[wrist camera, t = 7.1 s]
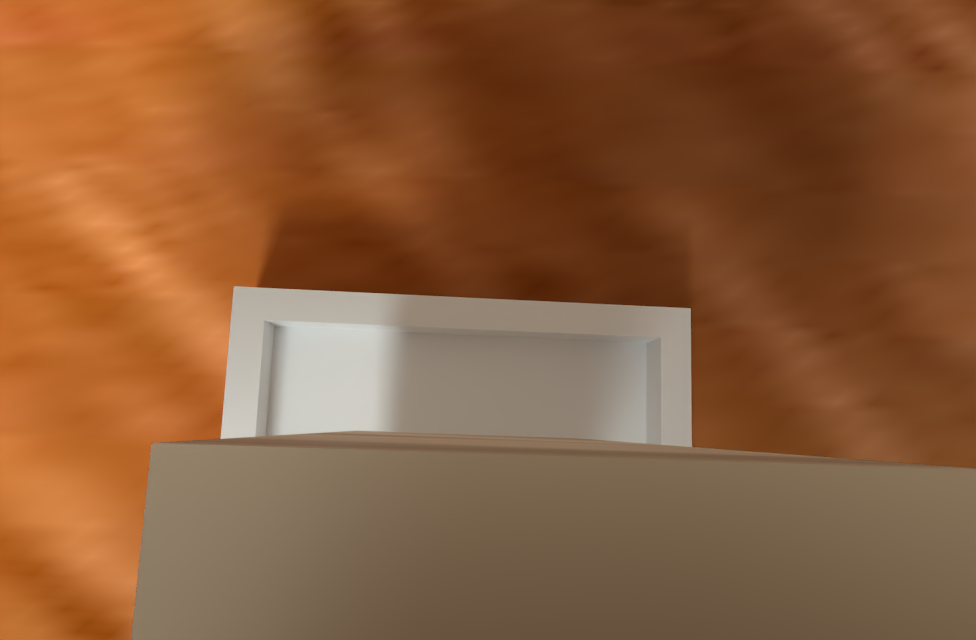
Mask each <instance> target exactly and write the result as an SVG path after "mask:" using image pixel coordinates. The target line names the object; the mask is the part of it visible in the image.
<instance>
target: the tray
mask: <svg viewBox="0 0 976 640" xmlns="http://www.w3.org/2000/svg"><path fill="white" fill-rule="evenodd" d="M341 431H386V432H415V433H443V434H472V435H501V436H530V437H559V438H580V439H593V440H606V441H619V442H633V443H646V444H659V445H672V446H685V447H692V402H691V308H674V307H654V306H633V305H612V304H591V303H570V302H550V301H529V300H508V299H487V298H466V297H446V296H425V295H404V294H383V293H362V292H342V291H321V290H300V289H279V288H258V287H237V286H234V290H233V302H232V314H231V325H230V337H229V348H228V360H227V372H226V383H225V395H224V407H223V418H222V430H221V439H226V438H242V437H259V436H275V435H291V434H308V433H324V432H341Z"/></svg>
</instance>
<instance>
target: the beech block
mask: <svg viewBox="0 0 976 640" xmlns="http://www.w3.org/2000/svg"><path fill="white" fill-rule="evenodd" d="M131 640H976V469H975V468H962V467H949V466H936V465H922V464H909V463H896V462H883V461H870V460H857V459H843V458H830V457H817V456H804V455H791V454H778V453H764V452H751V451H738V450H725V449H712V448H699V447H685V446H672V445H659V444H646V443H633V442H619V441H606V440H593V439H580V438H559V437H530V436H501V435H472V434H443V433H415V432H386V431H341V432H324V433H308V434H291V435H275V436H259V437H242V438H226V439H209V440H193V441H176V442H160V443H152V445H151V455H150V464H149V474H148V483H147V493H146V502H145V512H144V522H143V531H142V541H141V550H140V560H139V569H138V579H137V588H136V598H135V607H134V617H133V627H132V636H131Z"/></svg>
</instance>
